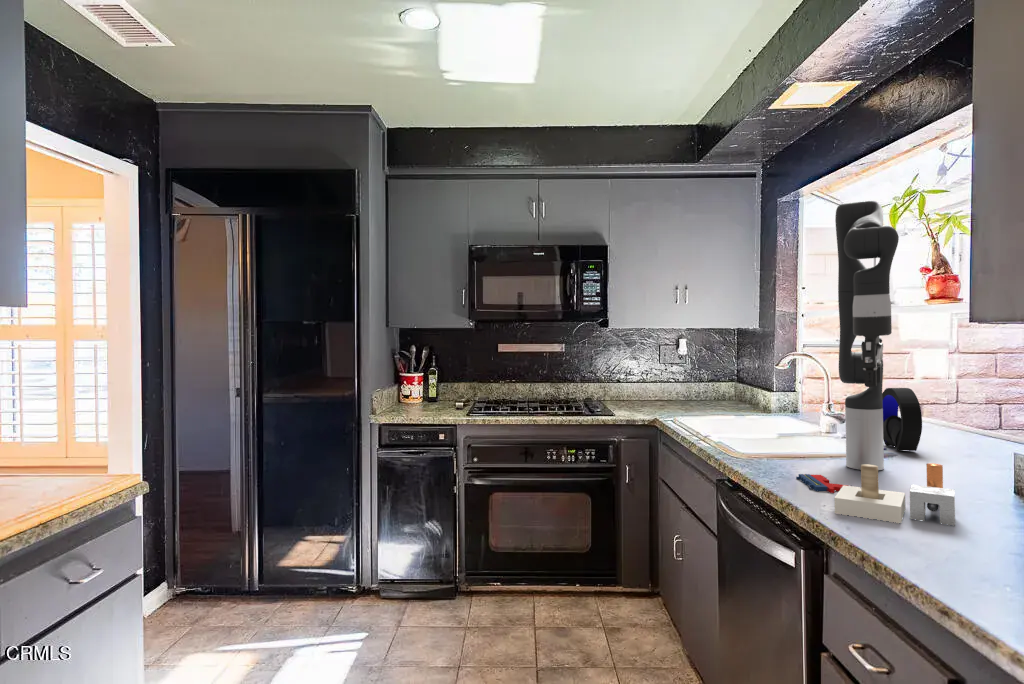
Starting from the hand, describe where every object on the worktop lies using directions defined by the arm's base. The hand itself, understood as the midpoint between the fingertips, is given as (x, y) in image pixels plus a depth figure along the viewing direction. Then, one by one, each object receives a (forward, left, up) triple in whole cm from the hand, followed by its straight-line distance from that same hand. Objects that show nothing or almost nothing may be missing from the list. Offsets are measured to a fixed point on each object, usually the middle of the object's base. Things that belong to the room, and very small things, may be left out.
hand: (872, 384), depth 132 cm
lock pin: (-1, +11, -27) cm, 29 cm away
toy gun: (-9, -12, -28) cm, 32 cm away
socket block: (+9, 0, -27) cm, 29 cm away
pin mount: (+8, +11, -27) cm, 30 cm away
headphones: (-68, 0, -27) cm, 74 cm away
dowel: (+9, 0, -27) cm, 29 cm away
